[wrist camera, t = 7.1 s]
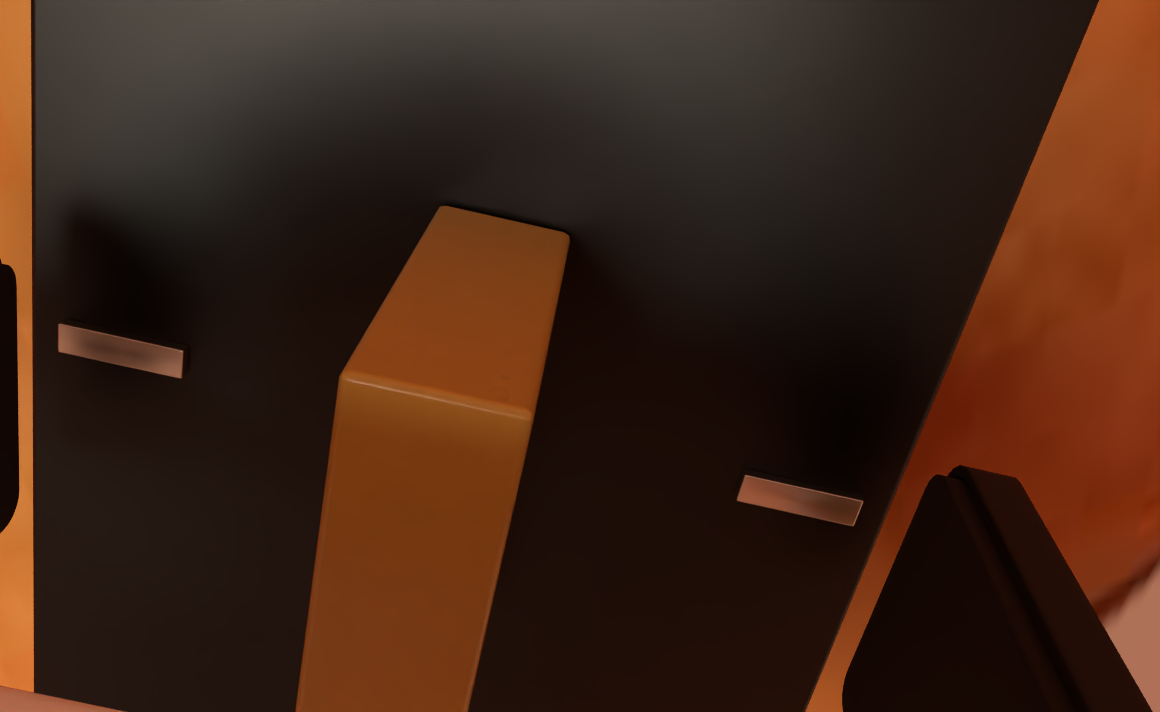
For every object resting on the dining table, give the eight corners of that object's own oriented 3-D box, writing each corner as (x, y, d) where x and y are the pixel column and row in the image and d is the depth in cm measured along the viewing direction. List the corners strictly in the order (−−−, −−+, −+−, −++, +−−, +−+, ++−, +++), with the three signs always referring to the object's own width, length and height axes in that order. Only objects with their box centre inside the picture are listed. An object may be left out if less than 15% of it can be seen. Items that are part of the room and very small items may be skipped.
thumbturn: (439, 201, 11) (327, 387, 7) (572, 231, 11) (532, 431, 7) (376, 583, 13) (264, 883, 9) (487, 606, 13) (421, 915, 9)
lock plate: (1011, -48, 13) (1118, -18, 10) (729, 709, 18) (745, 874, 15) (165, -254, 12) (15, -286, 9) (129, 581, 17) (25, 726, 14)
